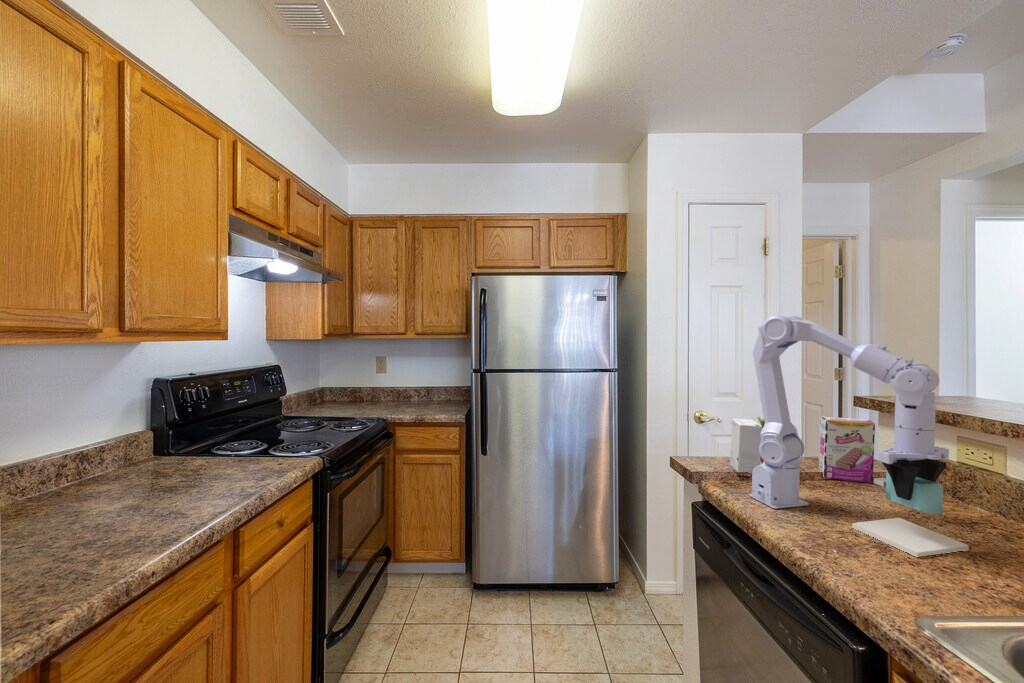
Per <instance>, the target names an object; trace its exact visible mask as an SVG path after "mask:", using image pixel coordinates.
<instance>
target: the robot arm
mask: <svg viewBox="0 0 1024 683" xmlns="http://www.w3.org/2000/svg"><path fill="white" fill-rule="evenodd" d="M757 330H758V335H757V338H756V341H755V344H754V346H753V349H752V356H753V362H754V368H755V374H756V379H757V385H758V386H757V387H758V391H759V392H758V393H759V396H760V397H759V398H760V402H761V408H762V415H763V419H764V421H765V425H764V427H763V429H762V431H761V434H760V435H761V443H760V446H759V453H760V455H761V457H762V459H763V460H764V462H763V463H762V462H761V463H760V465H758V466H756V467H755V468H754V469H753V472H752V477H751V480H752V481H751V493H749V497H751V498H753V499H754V500H757V501H758V502H760V503H762V504H764V505H766V506H768V507H770V508H772V509H785V508H796V507H804V506H805V507H806V506H809V504H810V503H809V502H807V501H805V500H803V499H800V468H801V467H800V462H799V461H800V458H802V456H803V455H804V453H805V444H804V442H803V441H802V439H801V438H800V436H799V434H798V433H799V432H798V430H797V428H796V426H795V425H794V424H793V423H792V422H791V416H790V410H789V405H788V399H787V395H786V394H787V392H786V389H785V383H784V382H785V381H784V377H783V371H782V365H781V360H780V357H781V355H783V354H784V353H785V352H786V350H787V349H788V348H789V347H791V346H793V345H795V344H796V343H798V342H813V343H815V344H817V345H819V346H822V347H824V348H827V349H828V350H831V351H833V352H836V353H837V354H840V355H842V356H844V357H846V358H849V359H850V360H851V364H852V366H853V367H854V368H855V369H857V370H859V371H861V372H862V373H865V374H868V375H869V376H871V377H873V378H875V379H877V380H880V381H881V382H883V383H885V384H890V385H891V388H892V389H893V390H894V391H895V402H894V429H893V430H894V439H893V440H894V441H893V442H894V443H893V446H892V447H889V448H887V449H884V450H879V451H877V452H878V454H877V456H878V457H877V458H878V460H877V461H878V462H881V463H882V466H884V468H885V470H886V472H888V473H889V475H890V477H891V479H892V482H893V485H894V489H895V492H896V495H897V497H899V498H902V499H905V500H911V498H912V494H913V486H914V481H915V478H916V477H919V478H922V479H926V480H929V481H932V482H936V483H937V480H938V479H939V477H940V476H941V474H942V473H943V472H944V471H945V470H946V469H947V466H948V465H947V462H945V461H941V459H943V460H948V459H950V456H949V455H950V449H949V448H946V447H942V446H935V445H936V439H935V438H936V408H937V407H936V403H935V402H936V396H935V395H936V393H935V390H936V388H938V386H939V385H940V377H939V374H938V373H937V371H936V370H934V369H933V368H932V367H930V366H929V365H928V364H925V363H913V362H914V359H913V358H911V357H906V358H905V357H903V356H900V355H898V354H896V353H895V352H894V353H893V352H891V351H889V350H887V346H886V345H884V344H882V343H877V344H874V343H867V344H863V345H861V344H859V343H857V342H854V341H853V340H851V339H848V338H847V337H845V336H843V335H841V334H838V333H837V332H834V331H833V330H831V329H829V328H827V327H824V326H822V325H821V324H819V323H816V322H815V321H813V320H812V321H811V320H809V319H803V317H801V316H799V315H788V316H786V315H771V316H769V317H768V318H766V319H765V320H764V321H763V322H762V323H761V324H760V325H759V326H758V327H757Z"/></svg>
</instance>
